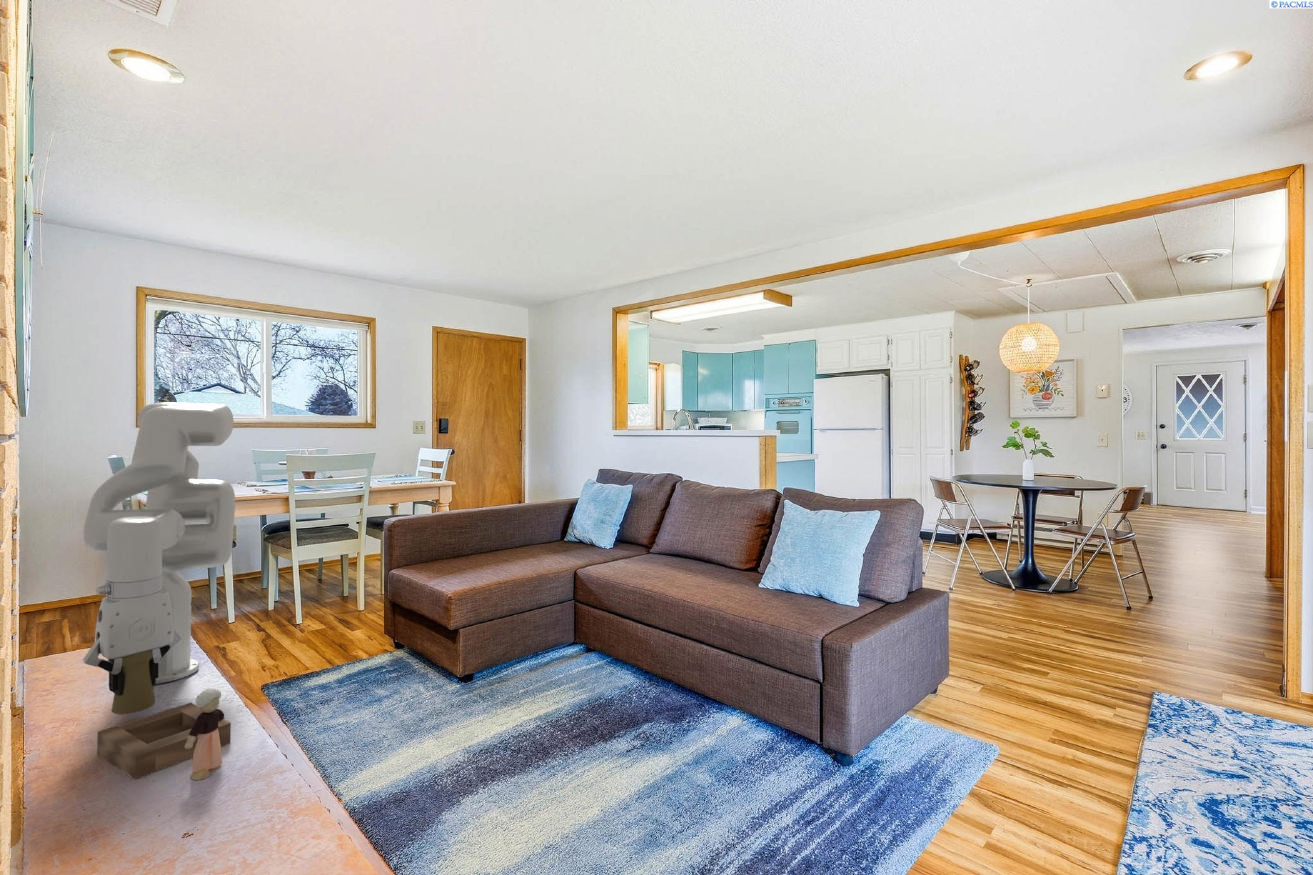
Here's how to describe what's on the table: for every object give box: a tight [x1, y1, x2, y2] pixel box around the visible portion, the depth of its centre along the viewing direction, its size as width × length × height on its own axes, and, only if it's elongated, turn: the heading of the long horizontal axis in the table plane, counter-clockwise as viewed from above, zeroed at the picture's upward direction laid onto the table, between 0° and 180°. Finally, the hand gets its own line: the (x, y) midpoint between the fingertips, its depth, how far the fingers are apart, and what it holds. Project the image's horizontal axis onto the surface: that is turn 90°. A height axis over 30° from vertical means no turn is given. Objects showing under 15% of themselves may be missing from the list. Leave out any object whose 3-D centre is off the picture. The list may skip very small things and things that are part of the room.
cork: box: [111, 650, 157, 715], centre depth 111 cm, size 6×6×11 cm
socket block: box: [96, 702, 232, 780], centre depth 102 cm, size 14×13×4 cm
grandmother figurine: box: [185, 688, 227, 781], centre depth 96 cm, size 8×4×13 cm, turn 9°
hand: (134, 687), depth 111 cm, fingers closed on cork, 3 cm apart
